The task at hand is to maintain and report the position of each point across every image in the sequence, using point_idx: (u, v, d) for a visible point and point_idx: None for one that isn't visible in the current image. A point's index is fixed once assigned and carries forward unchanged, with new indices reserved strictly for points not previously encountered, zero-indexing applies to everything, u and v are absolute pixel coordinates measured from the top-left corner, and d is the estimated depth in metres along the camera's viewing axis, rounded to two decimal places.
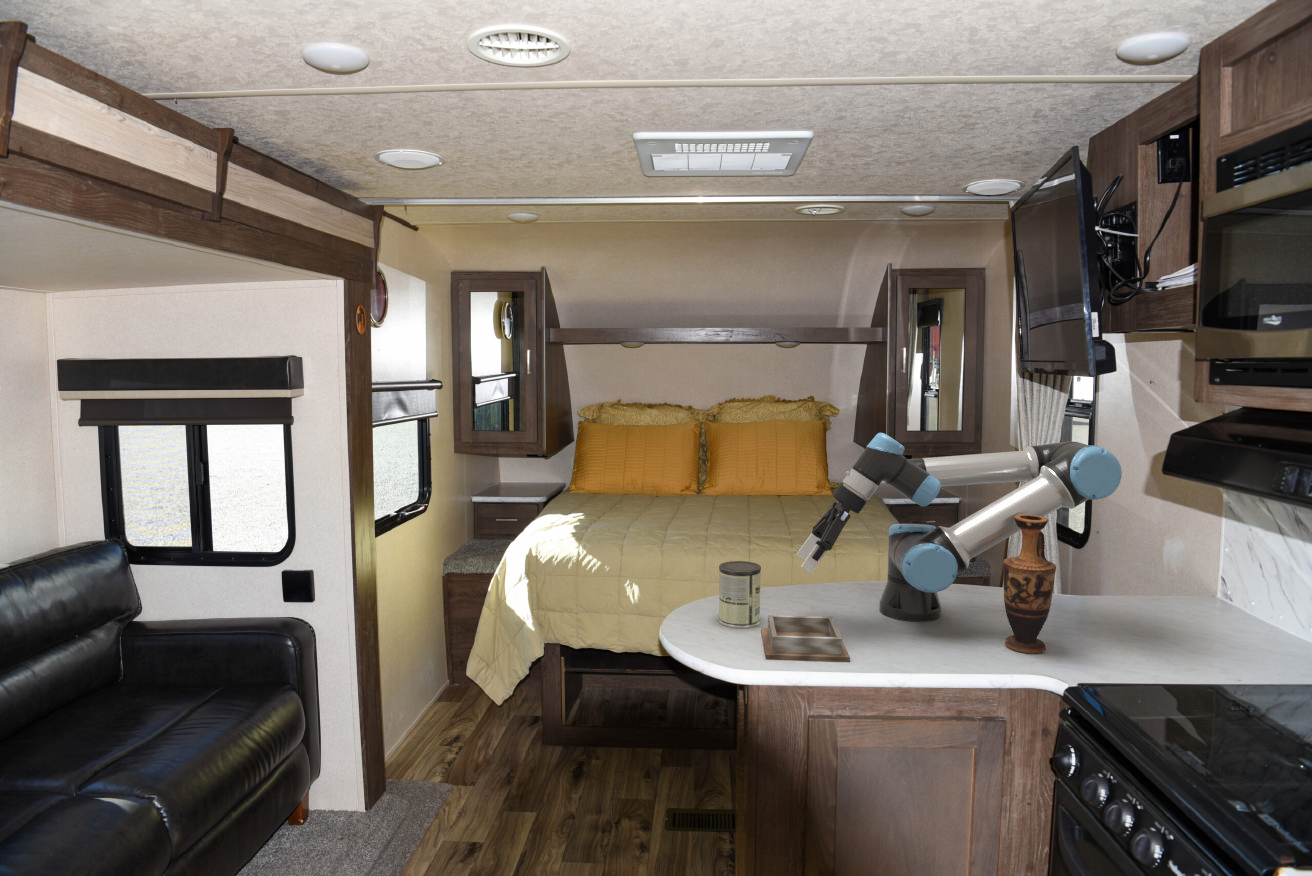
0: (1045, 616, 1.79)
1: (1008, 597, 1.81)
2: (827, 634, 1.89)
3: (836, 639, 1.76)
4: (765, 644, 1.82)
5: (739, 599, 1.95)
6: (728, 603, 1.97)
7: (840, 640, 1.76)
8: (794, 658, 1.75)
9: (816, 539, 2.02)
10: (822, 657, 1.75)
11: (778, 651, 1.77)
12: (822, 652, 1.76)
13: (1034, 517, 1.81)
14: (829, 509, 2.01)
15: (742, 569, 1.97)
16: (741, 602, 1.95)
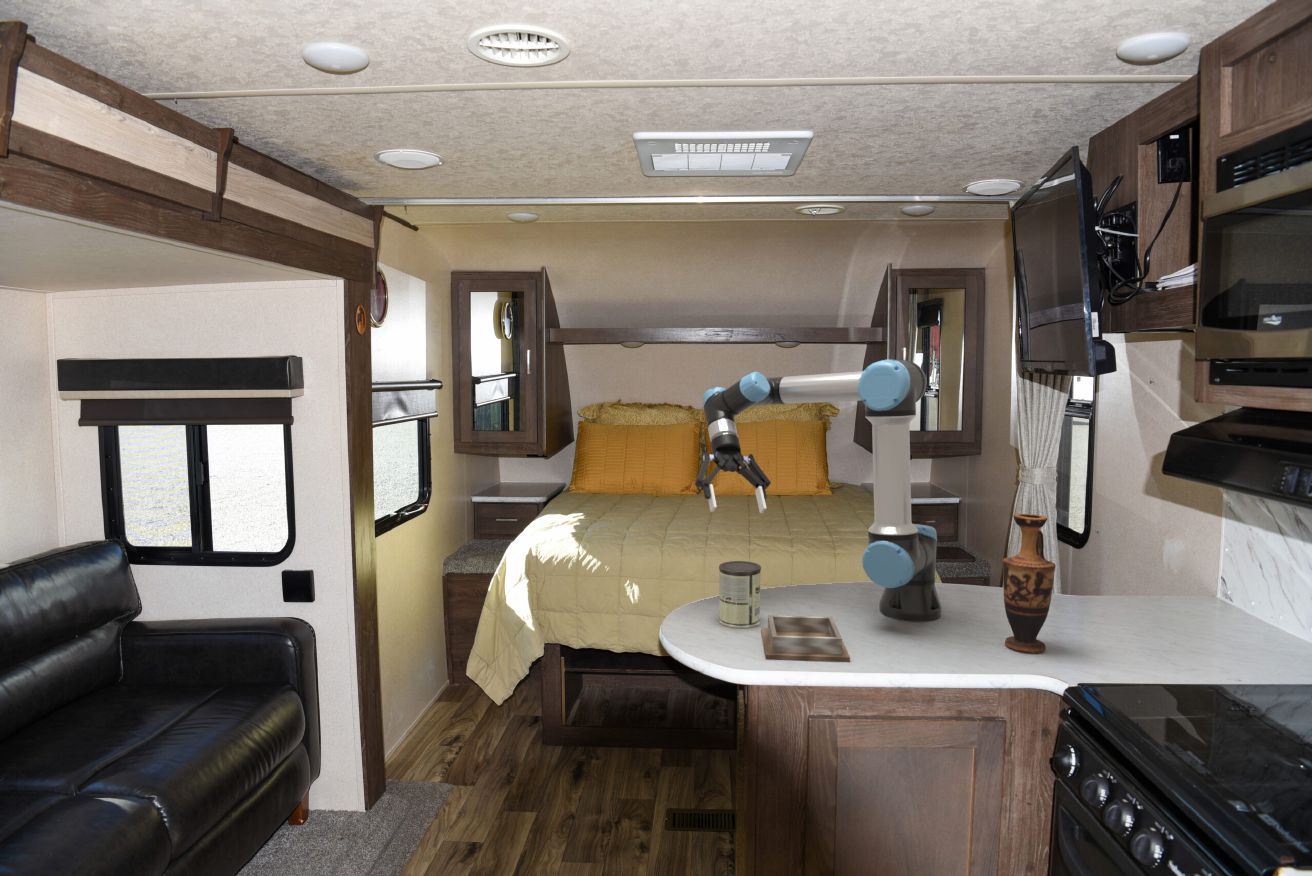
0: (1045, 615, 1.80)
1: (1008, 595, 1.82)
2: (827, 634, 1.89)
3: (836, 639, 1.76)
4: (765, 644, 1.82)
5: (739, 599, 1.95)
6: (728, 603, 1.97)
7: (840, 640, 1.76)
8: (794, 658, 1.75)
9: (758, 489, 2.10)
10: (822, 657, 1.75)
11: (778, 651, 1.77)
12: (822, 652, 1.76)
13: (1033, 516, 1.83)
14: None
15: (742, 569, 1.97)
16: (741, 602, 1.95)
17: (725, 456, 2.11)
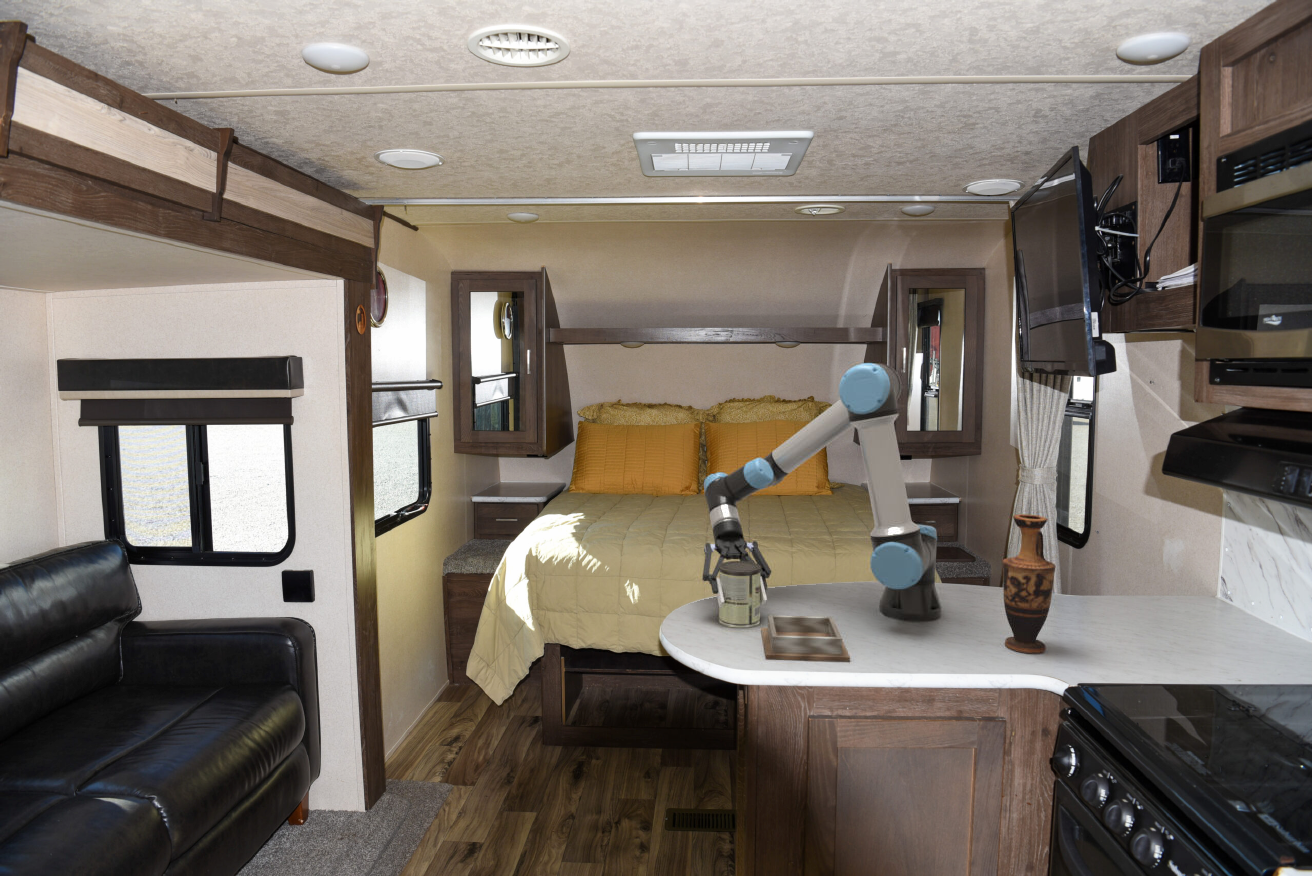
0: (1045, 615, 1.79)
1: (1008, 597, 1.81)
2: (827, 634, 1.89)
3: (836, 639, 1.76)
4: (765, 644, 1.82)
5: (739, 599, 1.95)
6: (727, 602, 1.97)
7: (840, 640, 1.76)
8: (794, 658, 1.75)
9: None
10: (822, 657, 1.75)
11: (778, 651, 1.77)
12: (822, 652, 1.76)
13: (1033, 517, 1.83)
14: None
15: (742, 569, 1.97)
16: (741, 602, 1.95)
17: (726, 544, 2.05)
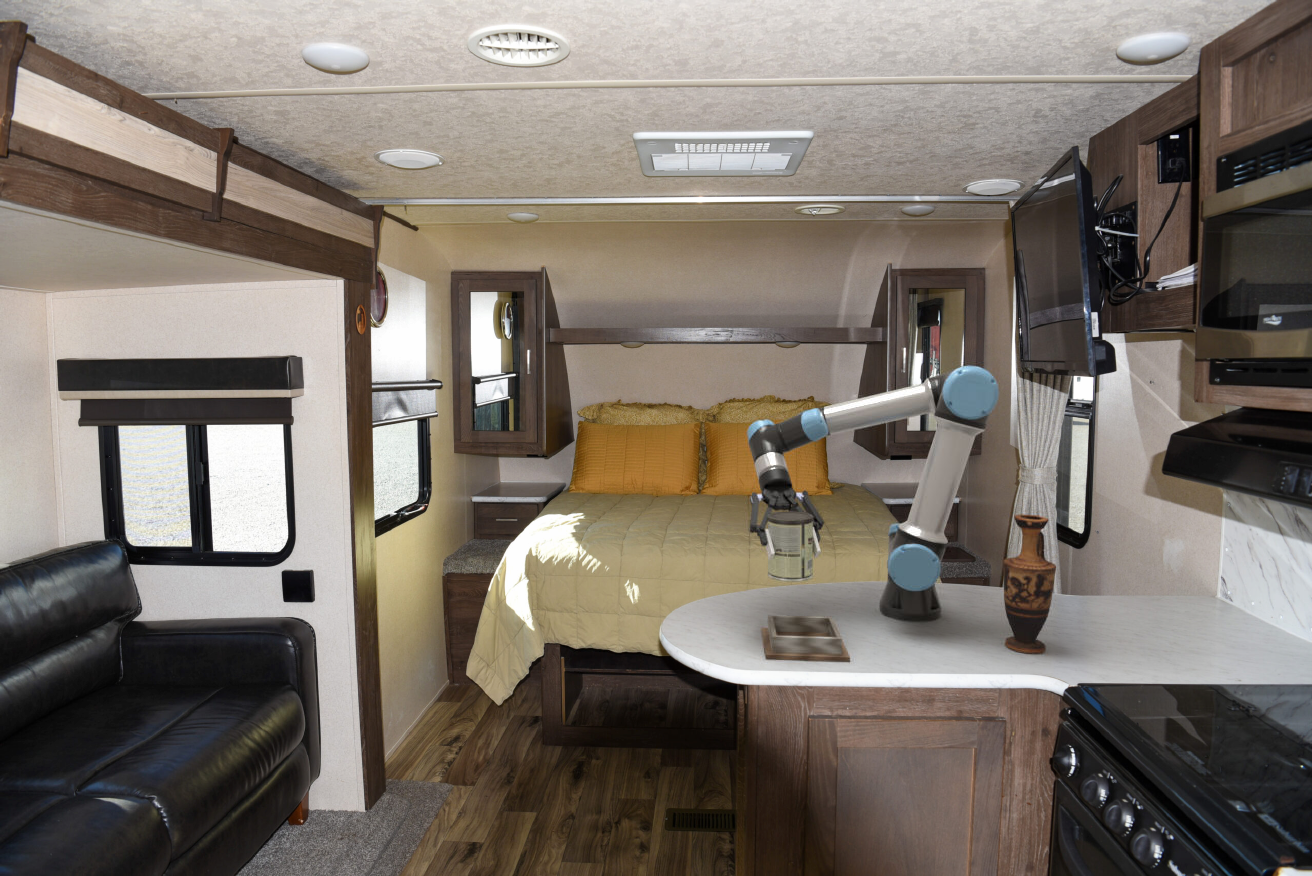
0: (1045, 616, 1.79)
1: (1009, 597, 1.81)
2: (827, 634, 1.89)
3: (836, 639, 1.76)
4: (765, 644, 1.82)
5: (790, 550, 1.80)
6: (778, 554, 1.81)
7: (840, 640, 1.76)
8: (794, 658, 1.75)
9: None
10: (822, 657, 1.75)
11: (778, 651, 1.77)
12: (822, 652, 1.76)
13: (1034, 517, 1.82)
14: None
15: (793, 518, 1.81)
16: (792, 554, 1.80)
17: (774, 493, 1.90)
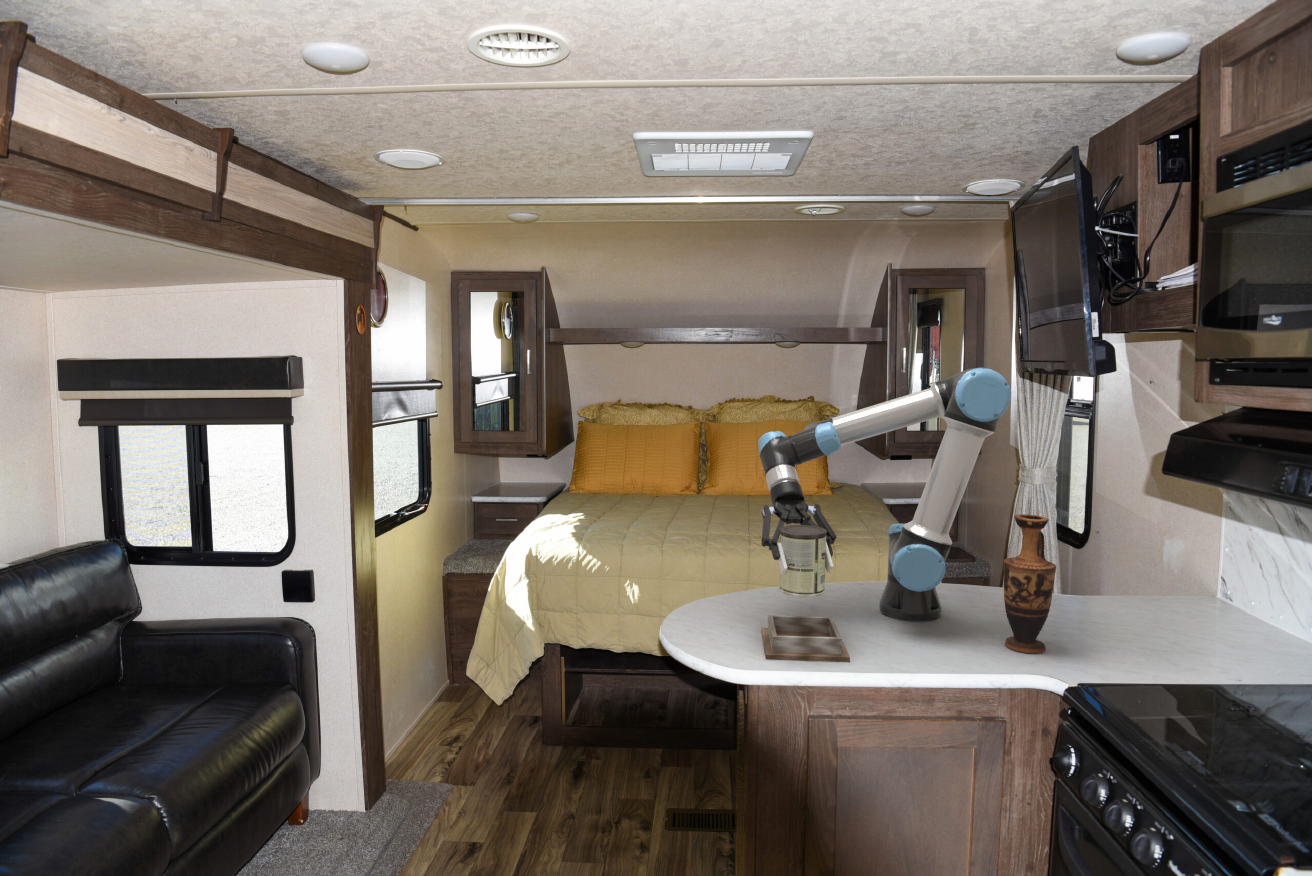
0: (1045, 616, 1.79)
1: (1009, 597, 1.81)
2: (827, 634, 1.89)
3: (836, 639, 1.76)
4: (765, 644, 1.82)
5: (803, 565, 1.77)
6: (791, 569, 1.79)
7: (840, 640, 1.76)
8: (794, 658, 1.75)
9: None
10: (822, 657, 1.75)
11: (778, 651, 1.77)
12: (822, 652, 1.76)
13: (1034, 517, 1.82)
14: None
15: (807, 532, 1.79)
16: (806, 568, 1.77)
17: (786, 506, 1.87)
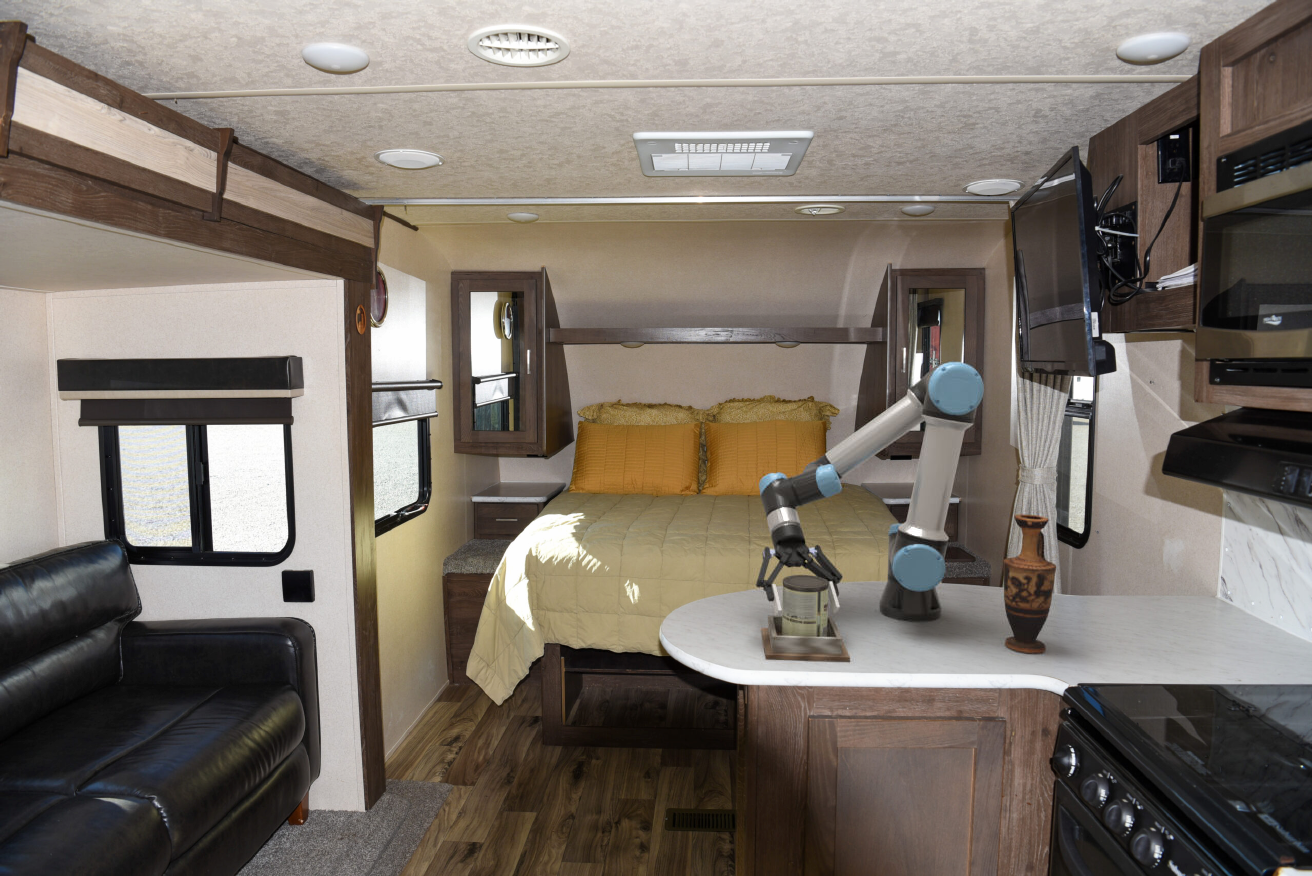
0: (1045, 616, 1.79)
1: (1009, 597, 1.81)
2: (827, 634, 1.89)
3: (836, 639, 1.76)
4: (765, 644, 1.82)
5: (806, 617, 1.78)
6: (793, 621, 1.80)
7: (840, 640, 1.76)
8: (794, 658, 1.75)
9: None
10: (822, 657, 1.75)
11: (778, 651, 1.77)
12: (822, 652, 1.76)
13: (1034, 517, 1.82)
14: None
15: (809, 584, 1.80)
16: (808, 621, 1.78)
17: (788, 550, 1.88)
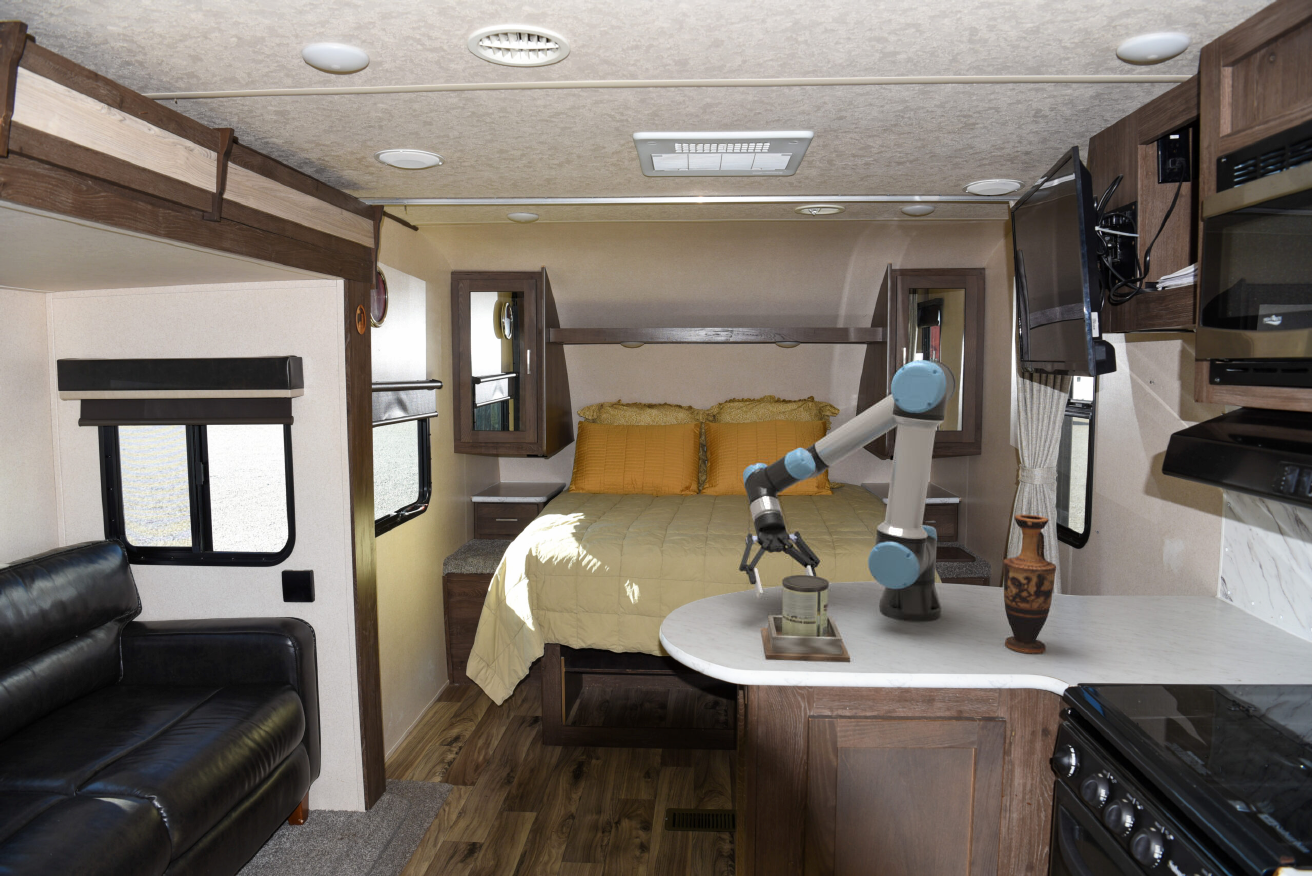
0: (1045, 616, 1.79)
1: (1009, 597, 1.81)
2: (827, 634, 1.89)
3: (836, 639, 1.76)
4: (765, 644, 1.82)
5: (806, 617, 1.78)
6: (793, 621, 1.80)
7: (840, 640, 1.76)
8: (794, 658, 1.75)
9: (806, 569, 1.99)
10: (822, 657, 1.75)
11: (778, 651, 1.77)
12: (822, 652, 1.76)
13: (1034, 517, 1.82)
14: None
15: (809, 584, 1.80)
16: (808, 621, 1.78)
17: (769, 536, 2.01)
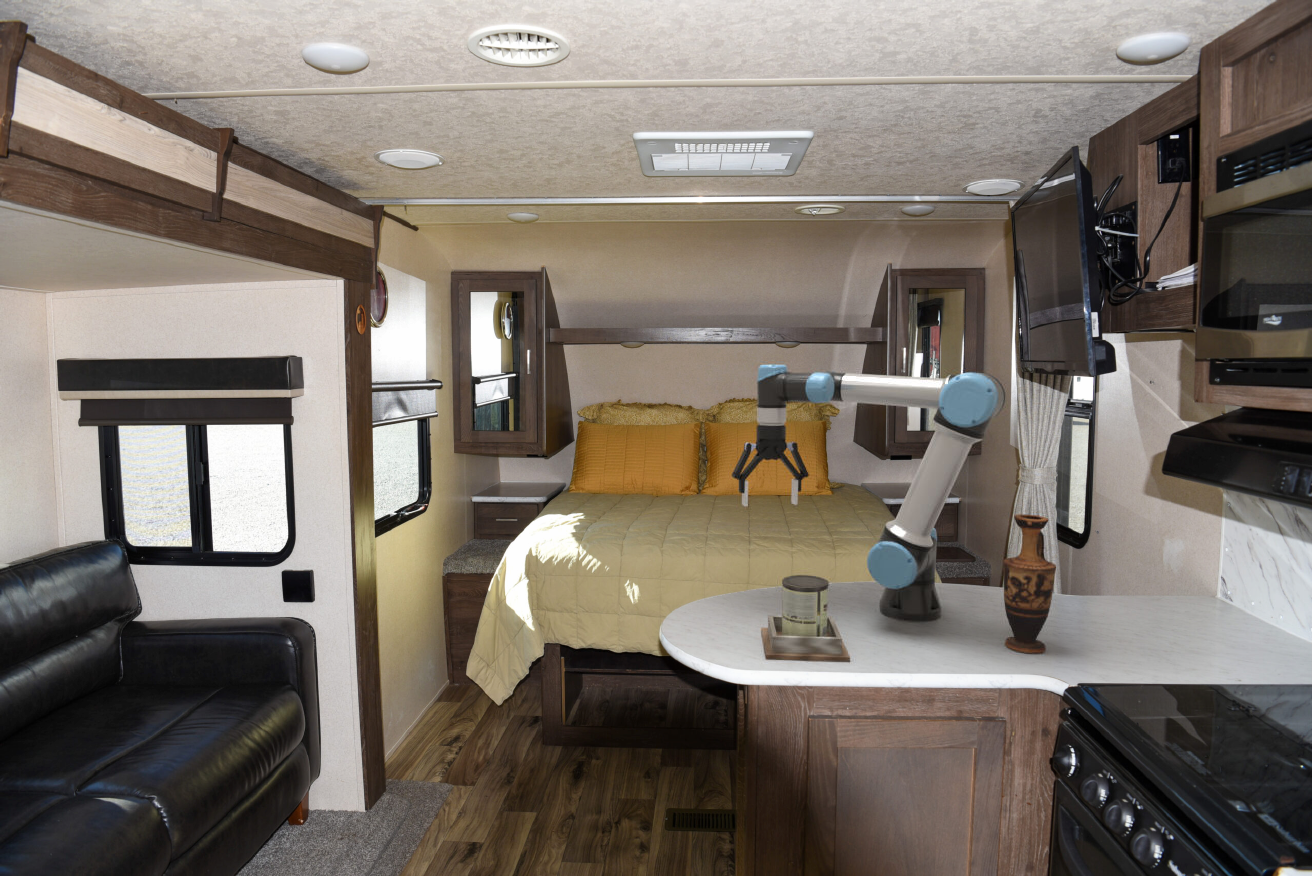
0: (1045, 616, 1.79)
1: (1009, 597, 1.81)
2: (827, 634, 1.89)
3: (836, 639, 1.76)
4: (765, 644, 1.82)
5: (806, 617, 1.78)
6: (793, 621, 1.80)
7: (840, 640, 1.76)
8: (794, 658, 1.75)
9: (794, 481, 2.13)
10: (822, 657, 1.75)
11: (778, 651, 1.77)
12: (822, 652, 1.76)
13: (1034, 517, 1.82)
14: None
15: (809, 584, 1.80)
16: (808, 621, 1.78)
17: (767, 449, 2.09)
